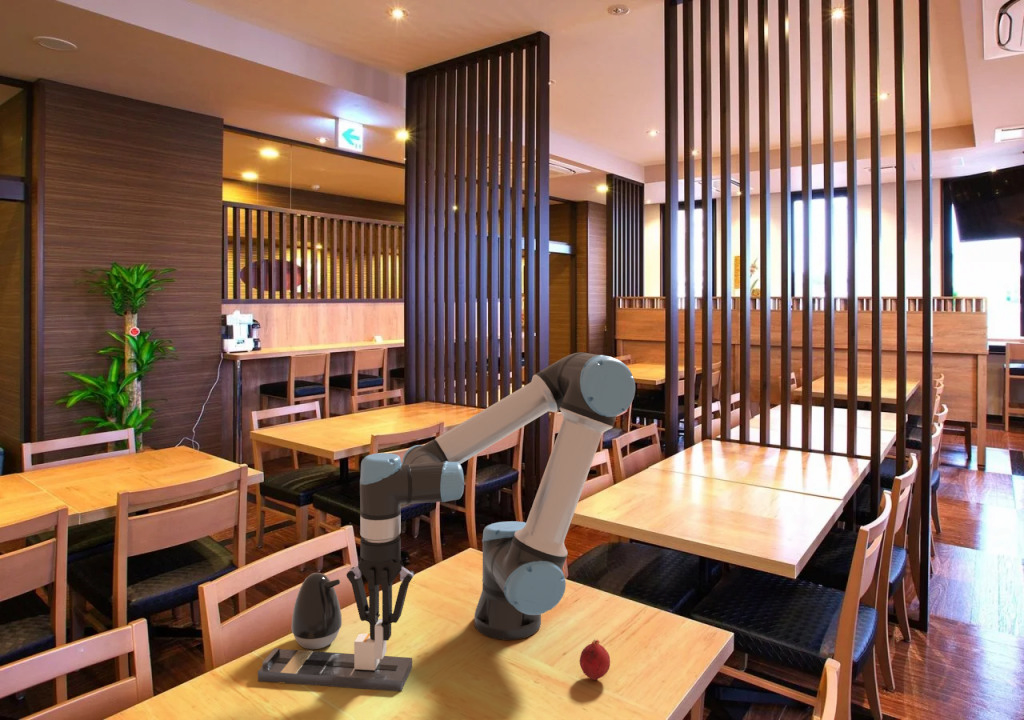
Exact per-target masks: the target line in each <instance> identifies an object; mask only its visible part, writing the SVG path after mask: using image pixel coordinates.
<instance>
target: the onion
mask: <svg viewBox="0 0 1024 720" xmlns="http://www.w3.org/2000/svg"><path fill="white" fill-rule="evenodd" d="M579 656H580V657H579V665H580V668H581V671H582V673H583V674H584V675H585V676H586V677H587V678H589V679H590V680H593V681H597V680H599V679H601V678H603V677H604V676H605V675H606V674H607V673H608V671H609V670H610V667H611V658H610V653H609V652H608V651H607V649H606V648H605V647H604V646H603V645H602V644H600V640H599V639H598V638H595V639H593V640H592V642H591V643H589V644H588V645H586V646H585V647H584V648H583V649H582V651H581V653H580V655H579Z"/></svg>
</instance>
